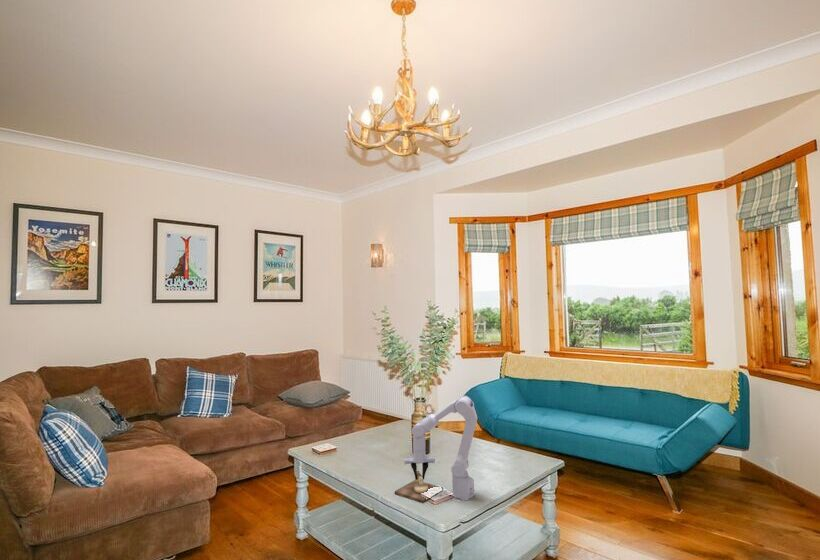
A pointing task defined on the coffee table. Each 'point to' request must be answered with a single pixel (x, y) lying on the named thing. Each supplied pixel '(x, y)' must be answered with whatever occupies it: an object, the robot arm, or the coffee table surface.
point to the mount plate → (412, 491)
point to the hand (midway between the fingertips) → (419, 478)
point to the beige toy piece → (420, 485)
